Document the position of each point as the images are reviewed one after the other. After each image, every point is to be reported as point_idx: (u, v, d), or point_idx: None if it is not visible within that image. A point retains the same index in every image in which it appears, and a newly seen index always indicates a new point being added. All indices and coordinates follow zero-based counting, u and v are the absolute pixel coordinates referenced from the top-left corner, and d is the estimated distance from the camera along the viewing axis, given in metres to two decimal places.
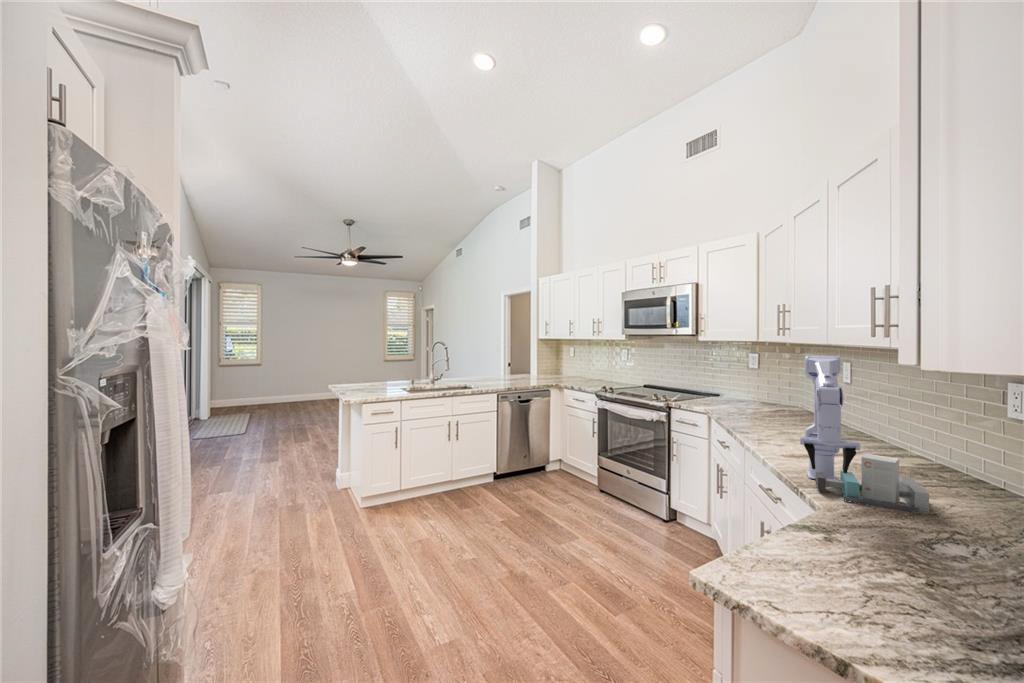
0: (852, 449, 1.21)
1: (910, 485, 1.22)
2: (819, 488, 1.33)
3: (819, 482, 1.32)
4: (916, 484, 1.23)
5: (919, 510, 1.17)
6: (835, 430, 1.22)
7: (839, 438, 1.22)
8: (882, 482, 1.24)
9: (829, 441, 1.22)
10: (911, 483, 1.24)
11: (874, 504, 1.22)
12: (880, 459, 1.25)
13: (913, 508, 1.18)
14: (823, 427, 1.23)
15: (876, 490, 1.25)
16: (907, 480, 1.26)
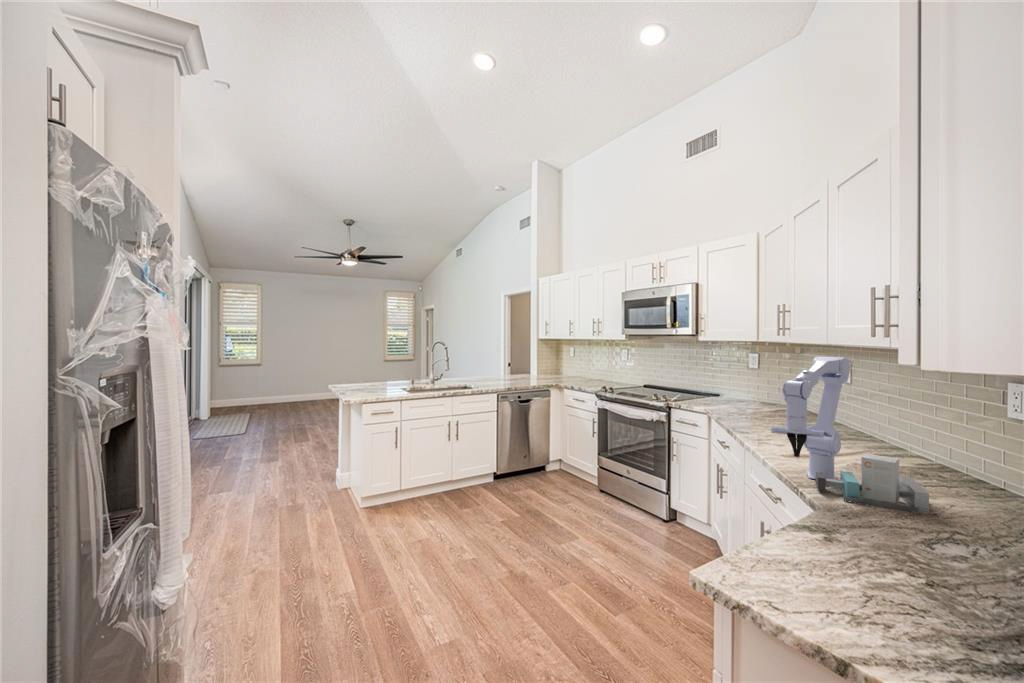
0: (816, 437, 1.34)
1: (910, 485, 1.22)
2: (819, 488, 1.33)
3: (819, 482, 1.32)
4: (916, 484, 1.23)
5: (919, 510, 1.17)
6: (801, 419, 1.35)
7: (805, 427, 1.35)
8: (882, 482, 1.24)
9: (796, 429, 1.36)
10: (911, 483, 1.24)
11: (874, 504, 1.22)
12: (880, 459, 1.25)
13: (913, 508, 1.18)
14: (791, 417, 1.37)
15: (876, 490, 1.25)
16: (907, 480, 1.26)
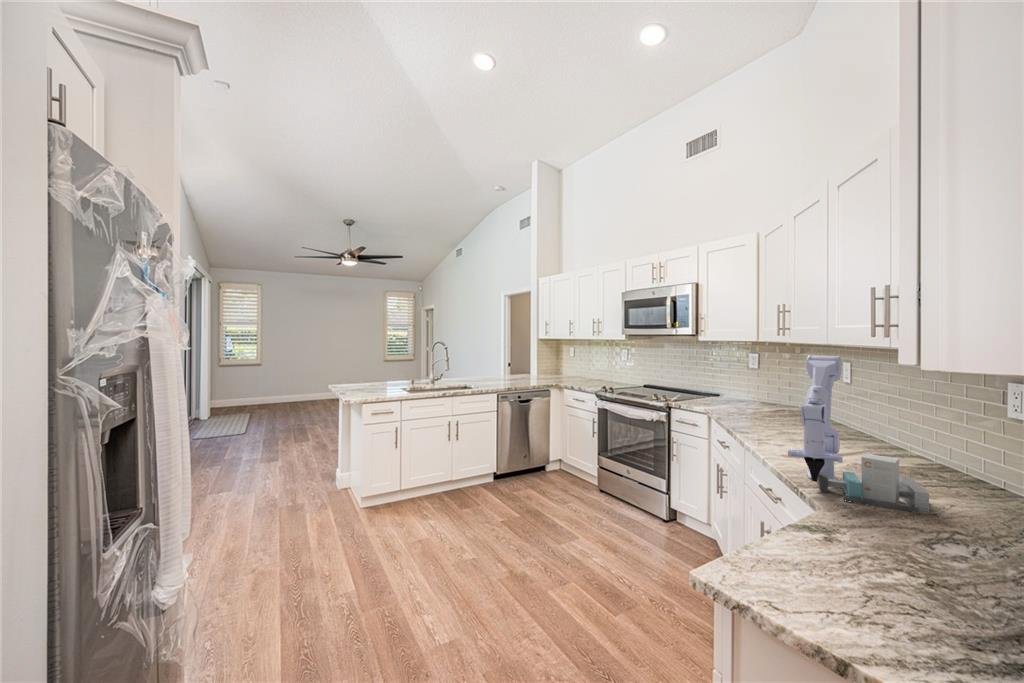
0: (835, 461, 1.32)
1: (910, 485, 1.22)
2: (821, 488, 1.32)
3: (821, 482, 1.32)
4: (916, 484, 1.23)
5: (919, 510, 1.17)
6: (819, 444, 1.33)
7: (823, 451, 1.33)
8: (882, 482, 1.24)
9: (814, 454, 1.33)
10: (911, 483, 1.24)
11: (874, 504, 1.22)
12: (880, 459, 1.25)
13: (913, 508, 1.18)
14: (808, 441, 1.34)
15: (876, 490, 1.25)
16: (907, 480, 1.26)
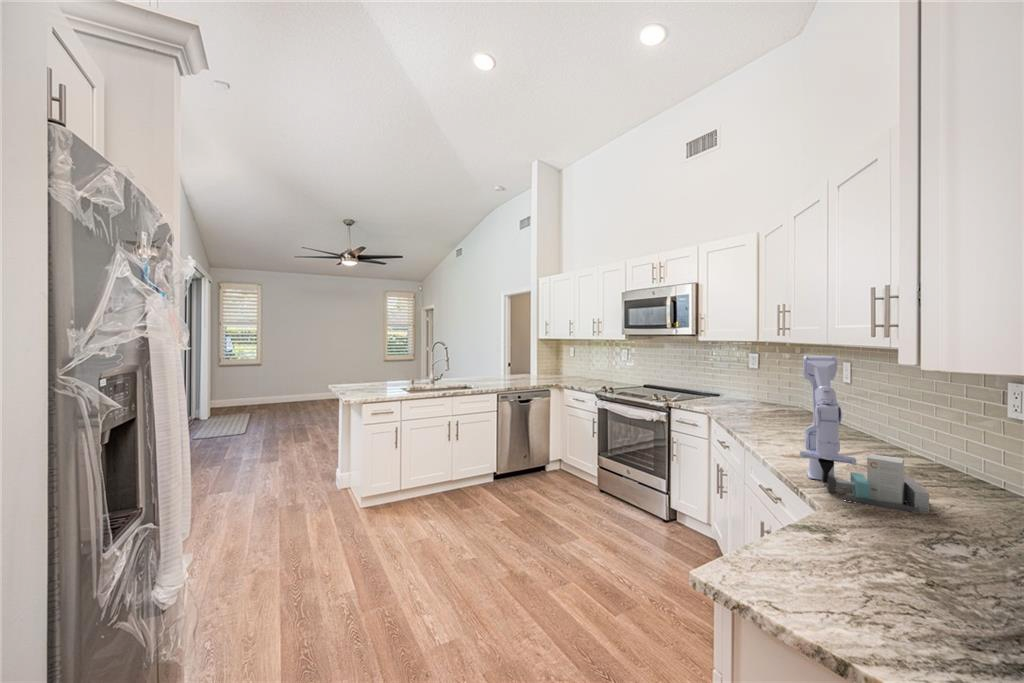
0: None
1: (910, 485, 1.22)
2: (829, 490, 1.31)
3: (829, 483, 1.31)
4: (916, 484, 1.23)
5: (919, 510, 1.17)
6: (833, 445, 1.31)
7: (836, 453, 1.31)
8: (888, 482, 1.24)
9: (827, 455, 1.31)
10: (911, 483, 1.24)
11: (874, 504, 1.22)
12: (886, 459, 1.25)
13: (913, 508, 1.18)
14: (822, 442, 1.32)
15: (882, 491, 1.25)
16: (907, 480, 1.26)
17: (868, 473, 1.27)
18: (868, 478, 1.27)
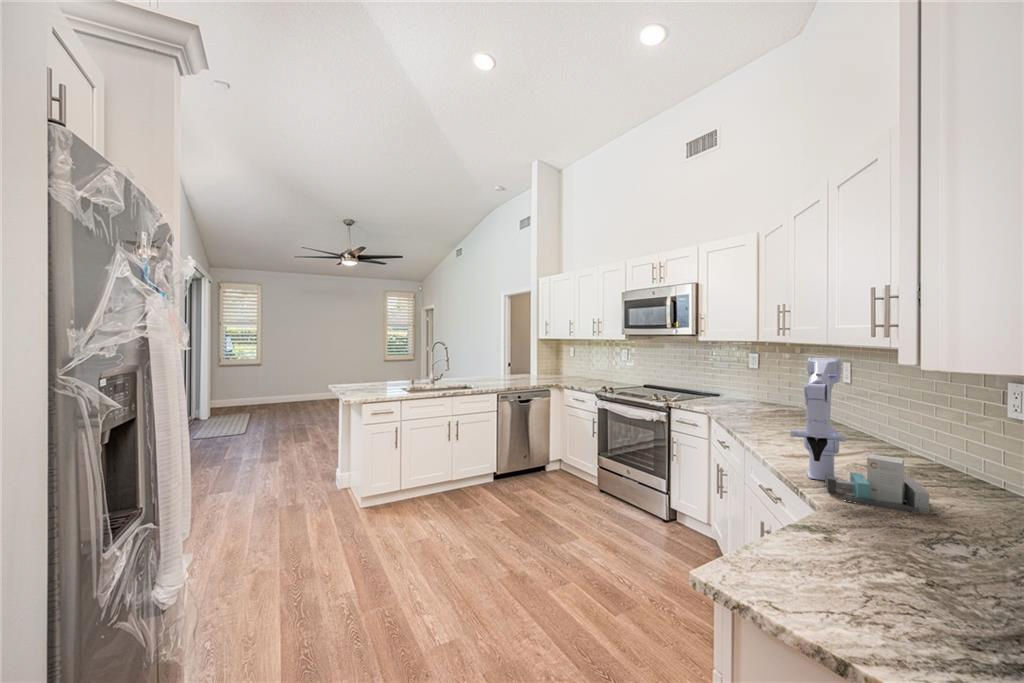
0: (838, 441, 1.32)
1: (910, 485, 1.22)
2: (829, 489, 1.31)
3: (829, 483, 1.31)
4: (916, 484, 1.23)
5: (919, 510, 1.17)
6: (822, 423, 1.32)
7: (826, 431, 1.32)
8: (888, 482, 1.24)
9: (816, 433, 1.33)
10: (911, 483, 1.24)
11: (874, 504, 1.22)
12: (886, 460, 1.25)
13: (913, 508, 1.18)
14: (811, 421, 1.34)
15: (882, 491, 1.25)
16: (907, 480, 1.26)
17: (868, 473, 1.27)
18: (868, 478, 1.27)
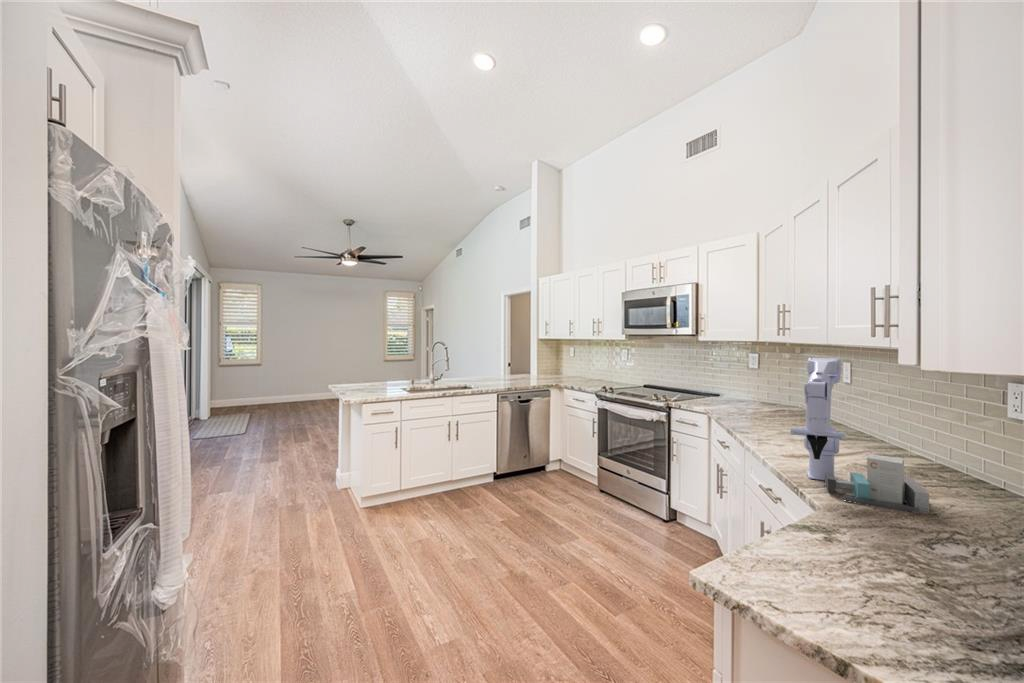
0: (838, 439, 1.31)
1: (910, 485, 1.22)
2: (829, 489, 1.31)
3: (829, 483, 1.31)
4: (916, 484, 1.23)
5: (919, 510, 1.17)
6: (822, 421, 1.32)
7: (826, 428, 1.32)
8: (888, 482, 1.24)
9: (816, 431, 1.33)
10: (911, 483, 1.24)
11: (874, 504, 1.22)
12: (886, 460, 1.25)
13: (913, 508, 1.18)
14: (811, 418, 1.34)
15: (882, 491, 1.25)
16: (907, 480, 1.26)
17: (868, 473, 1.27)
18: (868, 478, 1.27)
